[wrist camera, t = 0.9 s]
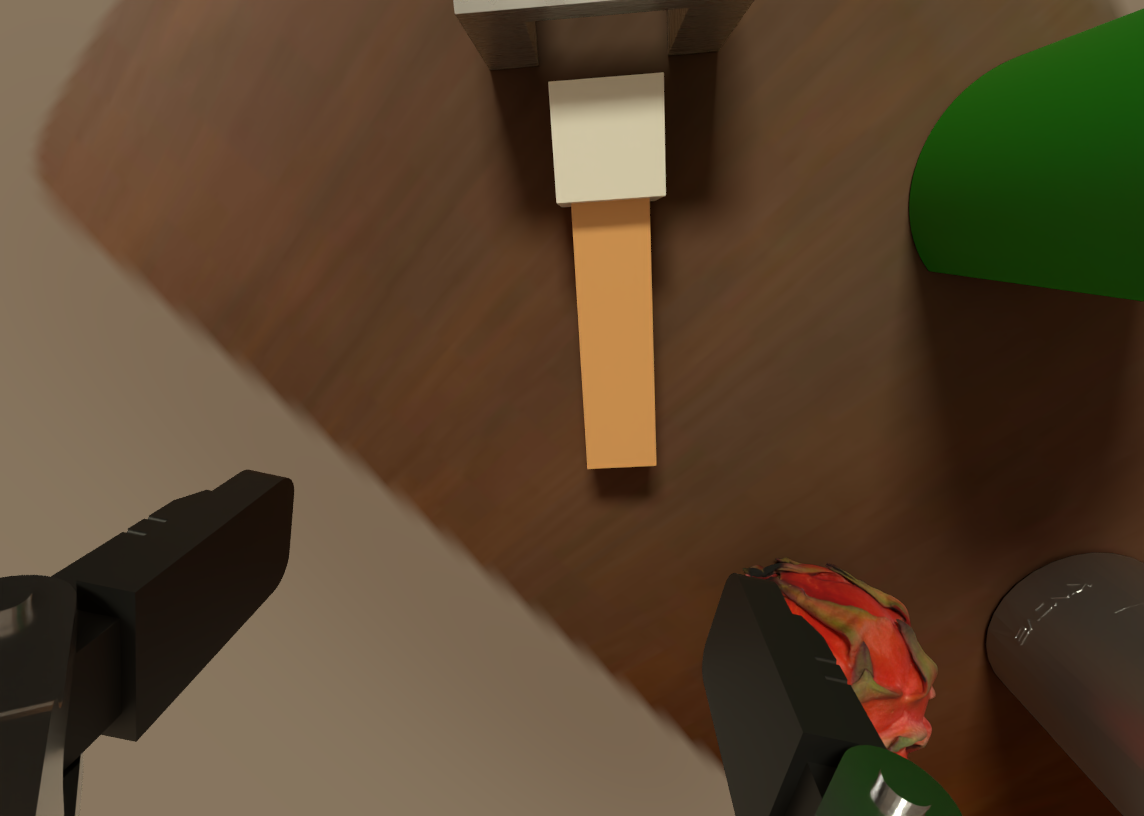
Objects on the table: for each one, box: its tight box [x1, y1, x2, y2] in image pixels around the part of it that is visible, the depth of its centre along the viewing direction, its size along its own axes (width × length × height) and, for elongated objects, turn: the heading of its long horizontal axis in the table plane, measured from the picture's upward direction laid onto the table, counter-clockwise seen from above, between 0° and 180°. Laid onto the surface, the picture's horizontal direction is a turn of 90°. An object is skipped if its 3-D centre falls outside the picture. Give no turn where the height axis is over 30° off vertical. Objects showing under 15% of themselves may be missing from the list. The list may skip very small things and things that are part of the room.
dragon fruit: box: [743, 557, 938, 759], centre depth 27 cm, size 8×8×12 cm
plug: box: [548, 72, 666, 469], centre depth 24 cm, size 15×4×4 cm, turn 4°
